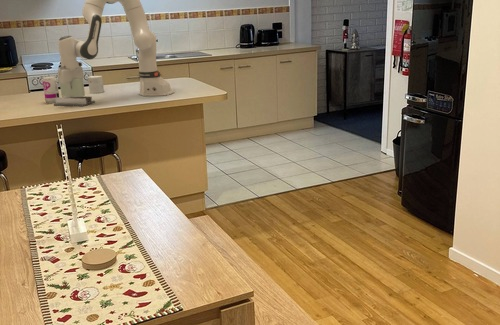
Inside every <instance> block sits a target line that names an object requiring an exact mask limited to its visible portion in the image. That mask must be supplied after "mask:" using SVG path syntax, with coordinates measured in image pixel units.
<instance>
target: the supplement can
mask: <svg viewBox="0 0 500 325" xmlns="http://www.w3.org/2000/svg"><path fill="white" fill-rule="evenodd" d="M41 82H42V85H43V86H42V87H43V88H42V89H43V92H44V93H43V95H44V100H45V102H46V103H47V104H55V103H56V99H55V98H60V93H59V85H58V78H56V76H44V77H42V81H41Z"/></svg>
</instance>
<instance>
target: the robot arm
mask: <svg viewBox="0 0 500 325" xmlns="http://www.w3.org/2000/svg"><path fill="white" fill-rule="evenodd" d="M115 3H120V4H121V6H122V8H123V10H124V12H125V16H126V18H127V21H128V23H129V27H130V31H131V35H132V38H133V41H134V42H133V43H134V45H135V46H136V47H137V49H138V58H137V60H138V68H139V71H138V78H139V93H138V94H139V95H140V96H142V97H150V96H151V97H153V96H154V97H155V96H160V97H161V96H169V95H173V94H174V93H175V90H173V89H172V88H171V87H172V86H171V83H169V81H167V80H166V79H164V78H163V77H162V76H161V74H162V72H161V71H159V70H158V66H157V36H156V35H155V34H156V33H154V32H153V31H152V30H150V27H149V23H148V18H147V15H146V13H145V10H144V8H143V4H142V2H141V0H84V4H83V6H82V8H83V9H82V16H83V18H84V19H85V20H86V21H87V22H88V24H89V27H88V33H87V38H86V40H85V41H84V40H80V39H77V38H75V37H73V36H72V35H66V36H65V35H64V36H61V37H60V38H59V39H58V53H59V55H60V60H59V61H60V66H59V68H58V70H57V83H59V84H60V83H66V85H67V86H68V89H69V90H70V89H72V86H71V85H70V82H71V81H72V79H74V78H83V79H84V69H83V68H84V67H83V62H81V61H78V60H77V58H81V59H86V60H93V59H95V58H96V57H97V56H98V54H99V38H100V34H101V29H102V24H103V23H102V15H103V12H104V8H105V5H106V4H108V5H109V4H111V5H112V4H115Z"/></svg>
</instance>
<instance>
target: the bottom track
mask: <svg viewBox="0 0 500 325" xmlns="http://www.w3.org/2000/svg"><path fill="white" fill-rule="evenodd" d="M55 99H56V103H53V106H56V107H85V106H88V105H91V104H93V103H94V104H95V102H96V101H95V100H93V96H90V95H89V96H62V95H61V97H59V98H55Z"/></svg>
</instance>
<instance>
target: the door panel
mask: <svg viewBox="0 0 500 325" xmlns="http://www.w3.org/2000/svg"><path fill="white" fill-rule="evenodd" d="M70 85H71V86H72V89H70V90H69V89H68V86H67V85H66V83H59V88H60V93H61V94H60V95H61V97H62V96H85V95H86V93H85V85H84V77H83V78H74V79H72V81H71V82H70Z"/></svg>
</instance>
